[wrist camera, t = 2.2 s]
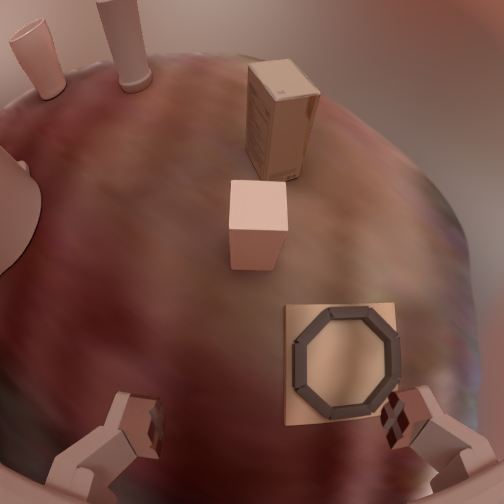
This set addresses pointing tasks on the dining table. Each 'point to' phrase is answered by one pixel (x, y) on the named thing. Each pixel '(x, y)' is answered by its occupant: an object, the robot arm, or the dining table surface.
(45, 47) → the drinking glass
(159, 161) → the dining table surface
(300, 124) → the skincare box
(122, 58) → the bottle
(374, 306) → the board
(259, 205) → the carton
